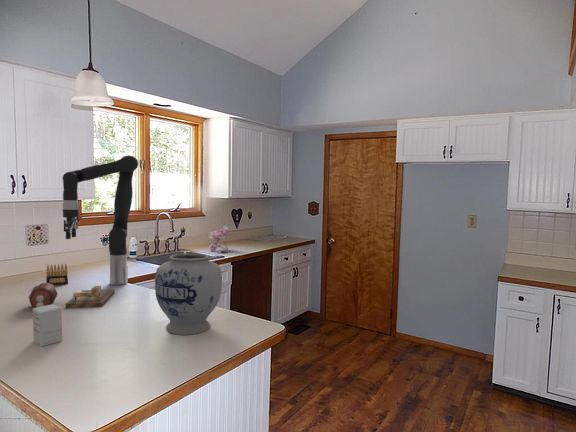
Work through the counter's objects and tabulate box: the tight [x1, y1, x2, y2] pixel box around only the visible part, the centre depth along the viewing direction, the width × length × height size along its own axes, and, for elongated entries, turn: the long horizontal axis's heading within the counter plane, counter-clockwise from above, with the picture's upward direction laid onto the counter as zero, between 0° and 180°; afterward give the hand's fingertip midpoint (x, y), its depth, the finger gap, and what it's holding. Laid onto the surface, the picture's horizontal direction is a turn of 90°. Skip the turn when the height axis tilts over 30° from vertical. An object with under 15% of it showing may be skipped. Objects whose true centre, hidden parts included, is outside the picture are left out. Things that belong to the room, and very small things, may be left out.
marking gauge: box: [72, 285, 102, 301], centre depth 190 cm, size 12×5×6 cm, turn 101°
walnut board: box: [64, 289, 116, 309], centre depth 196 cm, size 16×24×2 cm, turn 11°
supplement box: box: [32, 303, 63, 347], centre depth 144 cm, size 7×7×13 cm
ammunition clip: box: [45, 263, 69, 286], centre depth 224 cm, size 11×2×12 cm, turn 115°
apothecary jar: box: [154, 253, 223, 336], centre depth 162 cm, size 27×27×30 cm
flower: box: [208, 225, 231, 253], centre depth 348 cm, size 20×22×25 cm
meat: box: [28, 282, 58, 309], centre depth 184 cm, size 20×12×10 cm, turn 24°
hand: (71, 238), depth 215 cm, fingers open, 8 cm apart
